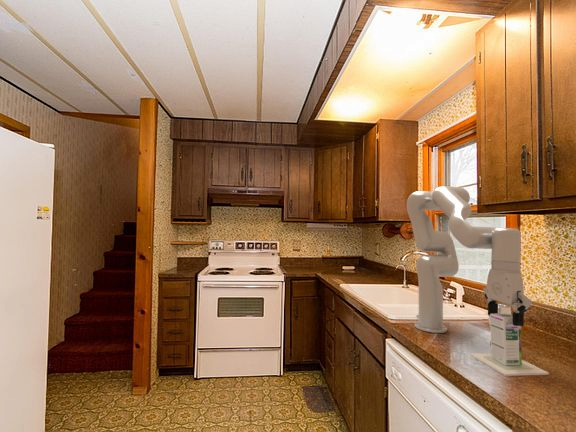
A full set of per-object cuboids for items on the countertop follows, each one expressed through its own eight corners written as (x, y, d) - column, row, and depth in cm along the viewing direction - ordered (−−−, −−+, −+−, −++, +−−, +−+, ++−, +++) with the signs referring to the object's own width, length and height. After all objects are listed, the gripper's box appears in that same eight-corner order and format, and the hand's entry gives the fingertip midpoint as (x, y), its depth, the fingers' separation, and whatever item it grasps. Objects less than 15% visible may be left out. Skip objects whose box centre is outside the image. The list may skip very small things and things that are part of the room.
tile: (470, 355, 100) (470, 353, 100) (508, 355, 102) (508, 352, 102) (505, 375, 86) (505, 373, 86) (548, 374, 88) (548, 371, 88)
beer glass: (489, 342, 114) (489, 302, 115) (512, 346, 109) (511, 305, 110) (487, 347, 108) (487, 305, 109) (511, 352, 104) (510, 308, 105)
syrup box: (505, 366, 91) (504, 317, 92) (490, 357, 97) (489, 312, 98) (522, 365, 92) (521, 317, 92) (506, 357, 97) (505, 312, 98)
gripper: (475, 262, 104) (474, 312, 103) (518, 270, 87) (517, 330, 86) (494, 263, 105) (494, 312, 104) (541, 271, 87) (541, 329, 87)
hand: (504, 320), depth 95 cm, fingers open, 9 cm apart
